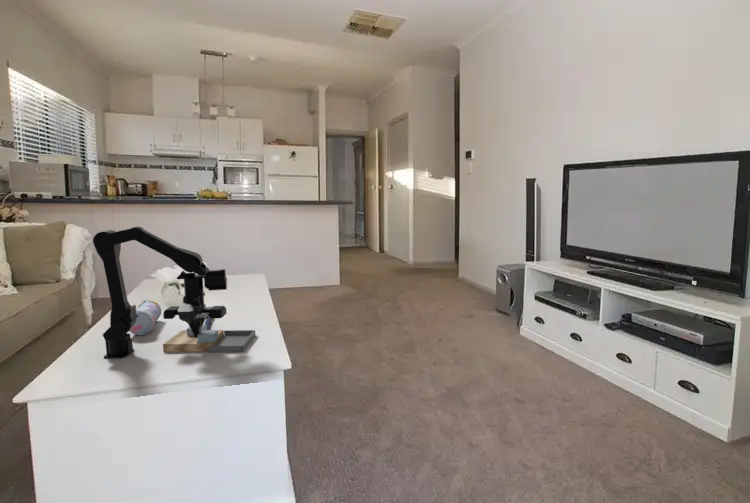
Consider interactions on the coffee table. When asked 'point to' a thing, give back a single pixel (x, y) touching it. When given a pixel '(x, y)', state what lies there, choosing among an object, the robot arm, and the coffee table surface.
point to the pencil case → (146, 317)
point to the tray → (233, 341)
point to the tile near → (207, 336)
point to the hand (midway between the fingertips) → (196, 337)
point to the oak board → (188, 342)
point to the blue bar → (208, 319)
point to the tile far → (190, 333)
